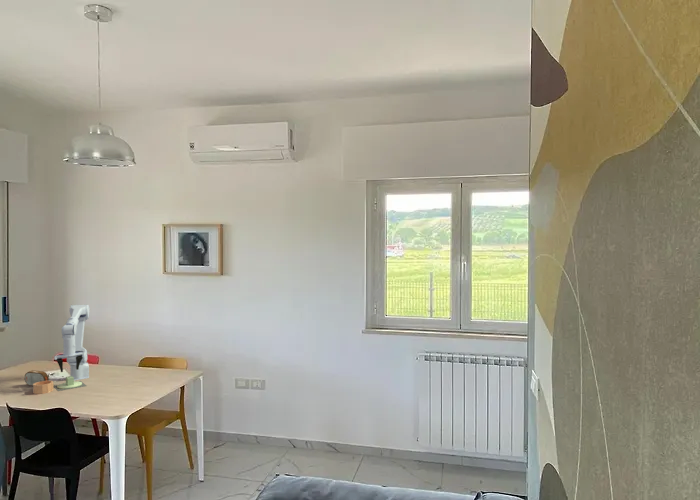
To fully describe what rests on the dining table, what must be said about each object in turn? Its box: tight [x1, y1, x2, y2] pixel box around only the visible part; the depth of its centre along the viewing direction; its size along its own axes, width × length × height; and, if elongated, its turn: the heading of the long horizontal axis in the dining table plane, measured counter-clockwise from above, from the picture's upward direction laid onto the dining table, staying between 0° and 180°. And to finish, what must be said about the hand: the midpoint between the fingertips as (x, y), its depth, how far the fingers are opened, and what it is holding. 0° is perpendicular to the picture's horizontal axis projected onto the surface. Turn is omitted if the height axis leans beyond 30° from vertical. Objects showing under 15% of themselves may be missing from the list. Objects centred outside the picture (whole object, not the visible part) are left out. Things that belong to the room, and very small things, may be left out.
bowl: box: [32, 380, 54, 395], centre depth 258 cm, size 9×9×5 cm
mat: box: [53, 380, 87, 392], centre depth 268 cm, size 14×14×1 cm
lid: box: [57, 375, 83, 390], centre depth 268 cm, size 12×12×5 cm
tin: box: [24, 369, 50, 387], centre depth 270 cm, size 15×3×8 cm, turn 74°
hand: (69, 370), depth 268 cm, fingers open, 7 cm apart
